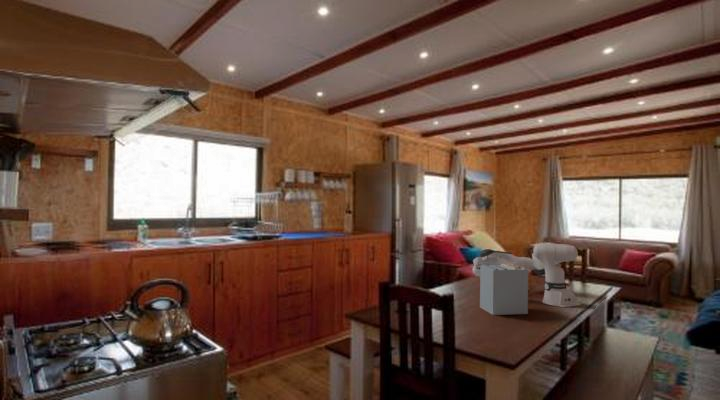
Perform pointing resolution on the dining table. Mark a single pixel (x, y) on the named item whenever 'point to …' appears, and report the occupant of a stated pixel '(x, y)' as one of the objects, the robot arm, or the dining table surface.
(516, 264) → the gauge bar
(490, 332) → the dining table surface
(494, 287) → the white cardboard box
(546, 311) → the dining table surface
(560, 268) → the robot arm
